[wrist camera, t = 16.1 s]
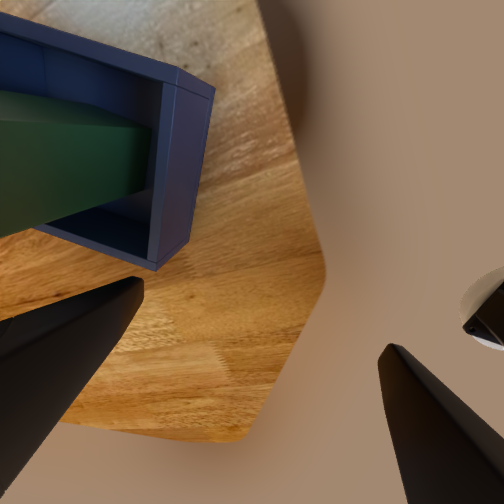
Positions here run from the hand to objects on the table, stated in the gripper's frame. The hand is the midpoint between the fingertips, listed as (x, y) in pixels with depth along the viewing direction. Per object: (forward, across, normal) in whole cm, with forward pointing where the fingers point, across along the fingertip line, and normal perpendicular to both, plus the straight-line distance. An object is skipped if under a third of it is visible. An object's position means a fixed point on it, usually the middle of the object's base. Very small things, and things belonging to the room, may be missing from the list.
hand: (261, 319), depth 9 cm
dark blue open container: (+14, +14, -2) cm, 19 cm away
